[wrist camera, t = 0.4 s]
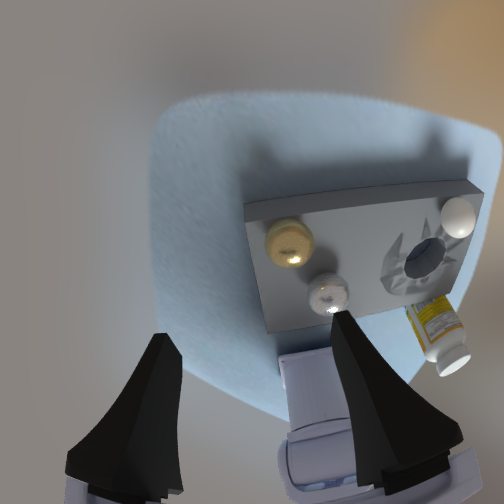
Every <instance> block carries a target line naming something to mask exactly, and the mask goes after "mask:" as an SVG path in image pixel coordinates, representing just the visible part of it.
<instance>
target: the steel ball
mask: <svg viewBox="0 0 504 504" xmlns="http://www.w3.org/2000/svg"><path fill="white" fill-rule="evenodd" d="M306 297H307V302H308V304H309V306H310V308H311V309H312V310H313V311H314V312H315V313H317V314H319V315H321V316H333V313H334V312H339V311H343V310H344V309H345V307H346V306H347V304H348V302H349V298H350V289H349V286H348V284H347V282H346V281H345V279H344V278H343V277H341V276H340V275H338V274H336V273H332V272H326V273H321V274H319V275H317V276H316V277H315V278H313V279H312V281H311V282H310V283H309V285H308V288H307V293H306Z"/></svg>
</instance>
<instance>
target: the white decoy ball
mask: <svg viewBox="0 0 504 504" xmlns="http://www.w3.org/2000/svg"><path fill="white" fill-rule="evenodd" d="M475 223H476V215H475V211H474V209H473V207H472V205H471V204H470V203H469V202H468V201H467V200H465V199H463V198H459V197H456V198H452V199H450V200H448V201H447V202H446V203H445V204H444V206H443V208H442V210H441V224H442V226H443V228H444V230H445V231H446V233H448V234H449V235H450V236H452V237H454V238H464V237H466V236H468V235H469V234H470V233H471V232H472V231H473V229H474V227H475Z"/></svg>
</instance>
